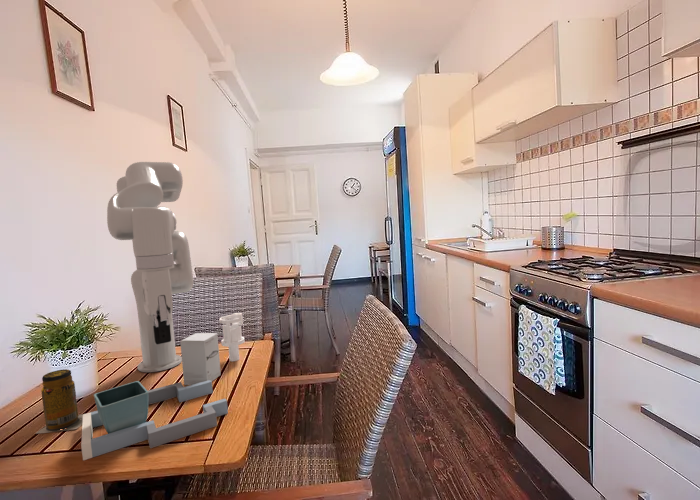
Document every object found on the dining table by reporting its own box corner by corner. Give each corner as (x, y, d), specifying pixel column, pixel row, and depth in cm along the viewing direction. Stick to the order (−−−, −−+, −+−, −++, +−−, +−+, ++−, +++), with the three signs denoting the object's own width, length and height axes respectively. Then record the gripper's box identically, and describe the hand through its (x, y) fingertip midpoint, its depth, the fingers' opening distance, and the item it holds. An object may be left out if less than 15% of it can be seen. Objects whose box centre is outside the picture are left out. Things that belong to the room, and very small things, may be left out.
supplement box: (207, 386, 104) (203, 340, 103) (183, 385, 105) (178, 340, 104) (221, 375, 111) (218, 332, 110) (198, 374, 112) (195, 332, 111)
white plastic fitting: (242, 363, 119) (238, 316, 118) (219, 364, 120) (215, 317, 118) (248, 355, 126) (245, 310, 125) (227, 356, 127) (223, 311, 125)
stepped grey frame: (84, 420, 89) (83, 407, 88) (207, 385, 104) (206, 375, 104) (82, 471, 70) (80, 455, 69) (233, 420, 85) (232, 407, 85)
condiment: (57, 417, 91) (51, 368, 90) (94, 414, 92) (89, 365, 91) (35, 434, 84) (28, 381, 83) (76, 430, 84) (69, 377, 83)
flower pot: (105, 450, 76) (100, 407, 75) (97, 433, 83) (92, 393, 82) (153, 432, 82) (149, 391, 81) (142, 417, 88) (138, 380, 88)
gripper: (133, 261, 90) (141, 337, 91) (139, 268, 77) (148, 355, 79) (168, 258, 94) (175, 330, 96) (179, 263, 81) (187, 347, 83)
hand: (163, 342), depth 87 cm, fingers closed
